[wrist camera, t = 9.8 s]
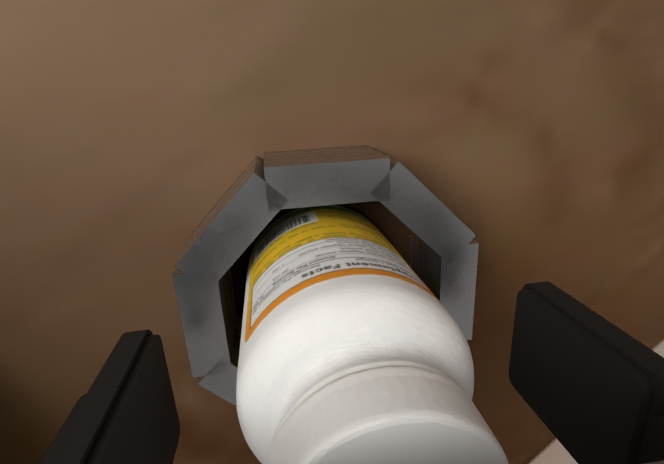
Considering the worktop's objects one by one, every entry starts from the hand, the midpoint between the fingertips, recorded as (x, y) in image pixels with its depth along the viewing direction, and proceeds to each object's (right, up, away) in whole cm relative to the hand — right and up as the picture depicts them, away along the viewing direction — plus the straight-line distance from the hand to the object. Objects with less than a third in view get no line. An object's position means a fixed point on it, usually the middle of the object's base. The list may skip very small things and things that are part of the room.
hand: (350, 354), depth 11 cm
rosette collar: (-1, +2, +5) cm, 5 cm away
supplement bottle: (-1, +2, +5) cm, 6 cm away
